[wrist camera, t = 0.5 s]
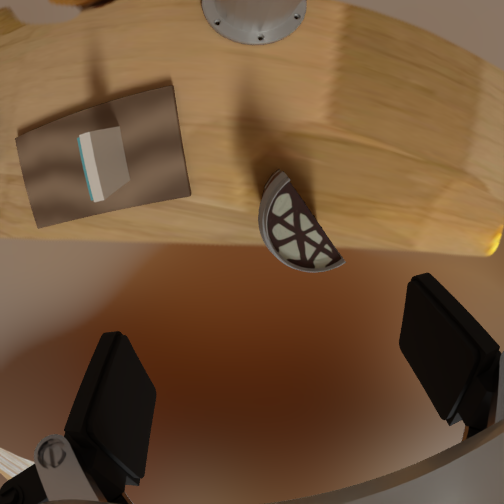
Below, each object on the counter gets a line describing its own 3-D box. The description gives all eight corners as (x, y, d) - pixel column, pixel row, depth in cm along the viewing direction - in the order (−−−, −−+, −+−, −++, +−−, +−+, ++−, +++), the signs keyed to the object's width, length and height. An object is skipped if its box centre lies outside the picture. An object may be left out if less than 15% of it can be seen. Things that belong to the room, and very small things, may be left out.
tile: (108, 129, 32) (75, 136, 24) (119, 126, 32) (89, 131, 24) (118, 182, 35) (90, 203, 27) (130, 180, 35) (104, 200, 27)
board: (19, 137, 32) (15, 138, 31) (173, 86, 32) (171, 85, 31) (41, 225, 38) (37, 228, 37) (191, 193, 38) (190, 196, 37)
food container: (232, 188, 38) (234, 212, 29) (272, 159, 37) (286, 174, 28) (286, 256, 43) (302, 296, 34) (323, 231, 42) (348, 265, 33)
